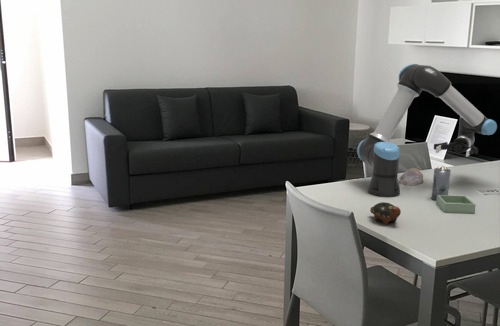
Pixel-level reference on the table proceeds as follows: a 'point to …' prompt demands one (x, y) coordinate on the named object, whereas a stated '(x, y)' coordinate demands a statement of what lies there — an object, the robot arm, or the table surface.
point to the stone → (412, 177)
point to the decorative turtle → (385, 212)
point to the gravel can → (440, 182)
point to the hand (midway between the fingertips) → (451, 151)
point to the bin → (455, 204)
